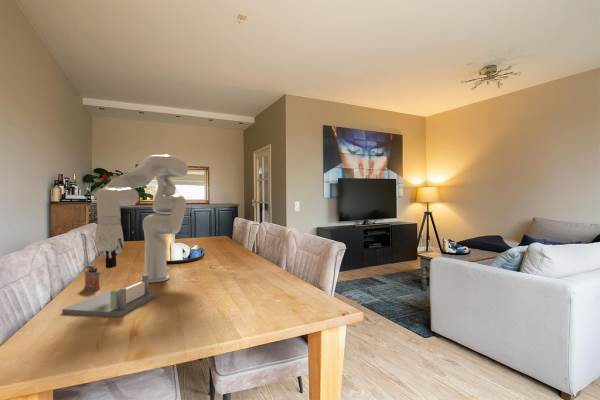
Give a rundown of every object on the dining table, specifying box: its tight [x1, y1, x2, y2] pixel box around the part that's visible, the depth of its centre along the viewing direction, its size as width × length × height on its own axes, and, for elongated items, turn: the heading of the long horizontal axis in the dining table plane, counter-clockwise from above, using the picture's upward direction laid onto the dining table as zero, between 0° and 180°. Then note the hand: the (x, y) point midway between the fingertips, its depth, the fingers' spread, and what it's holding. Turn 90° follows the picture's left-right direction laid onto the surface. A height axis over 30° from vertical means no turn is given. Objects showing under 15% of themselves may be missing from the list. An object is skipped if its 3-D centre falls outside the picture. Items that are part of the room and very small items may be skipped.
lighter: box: [84, 264, 101, 292], centre depth 131 cm, size 8×3×10 cm, turn 65°
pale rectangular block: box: [110, 280, 145, 309], centre depth 110 cm, size 16×2×6 cm, turn 174°
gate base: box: [61, 274, 157, 318], centre depth 112 cm, size 21×21×9 cm
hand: (111, 267), depth 118 cm, fingers closed
